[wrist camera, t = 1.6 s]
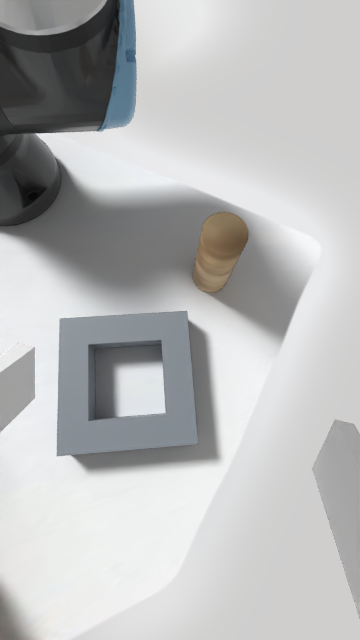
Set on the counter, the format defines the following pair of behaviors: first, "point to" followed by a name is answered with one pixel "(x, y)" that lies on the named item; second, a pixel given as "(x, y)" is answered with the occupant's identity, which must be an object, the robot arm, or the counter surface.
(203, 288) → the oak peg
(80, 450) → the slate socket block
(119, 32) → the robot arm
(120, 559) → the counter surface
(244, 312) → the counter surface
